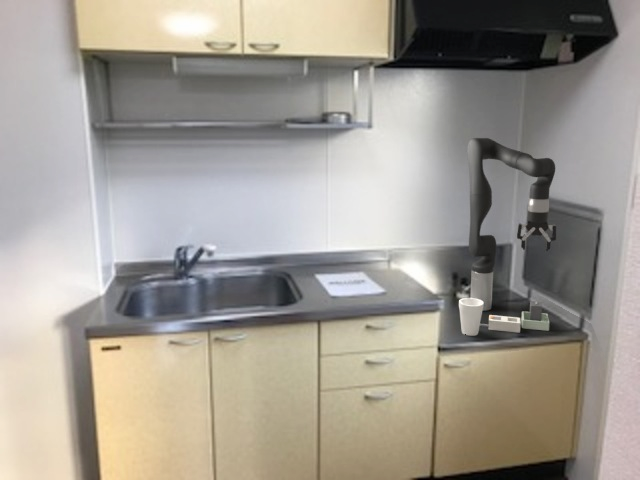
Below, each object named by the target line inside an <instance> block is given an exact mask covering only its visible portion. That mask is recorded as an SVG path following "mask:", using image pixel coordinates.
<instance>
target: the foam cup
mask: <svg viewBox="0 0 640 480" xmlns="http://www.w3.org/2000/svg"><path fill="white" fill-rule="evenodd" d="M483 304H484V302H483V301H482V300H479V299H475V298H470V297H463V298H461V299H459V300H458V308H459V318H460V327H461V333H462V335H465V334H466V335H465V336H469V337H470V336H473V337H474V336H477V335H479V331H480V327H481V326H480V324H481V320H482V315H483V311H482V310H483Z"/></svg>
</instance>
